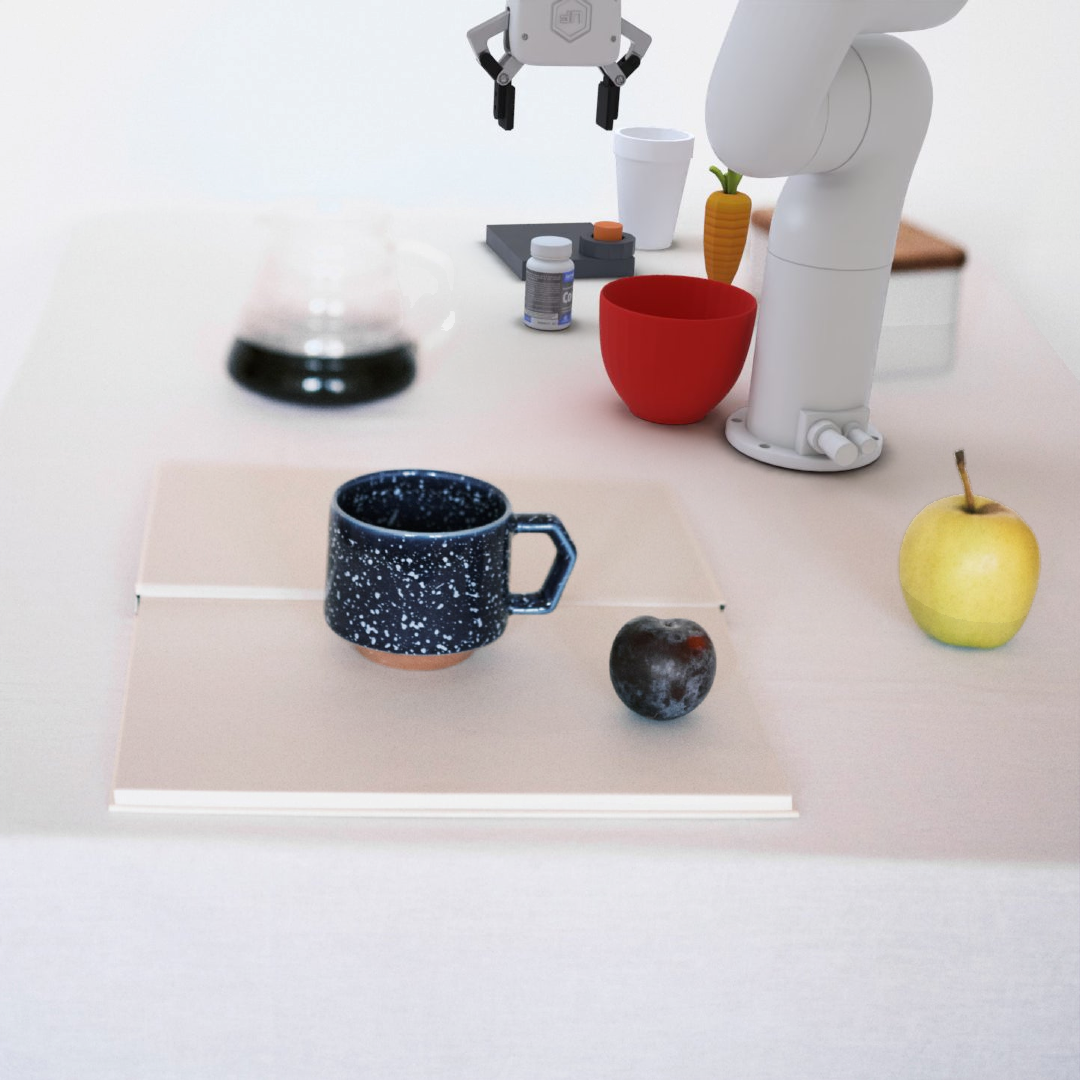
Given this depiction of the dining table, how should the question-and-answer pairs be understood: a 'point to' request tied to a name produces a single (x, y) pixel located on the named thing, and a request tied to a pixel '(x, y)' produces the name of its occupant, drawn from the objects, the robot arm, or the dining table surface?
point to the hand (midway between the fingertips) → (555, 127)
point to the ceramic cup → (674, 343)
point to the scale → (586, 250)
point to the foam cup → (651, 181)
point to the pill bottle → (549, 284)
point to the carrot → (725, 227)
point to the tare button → (608, 231)
